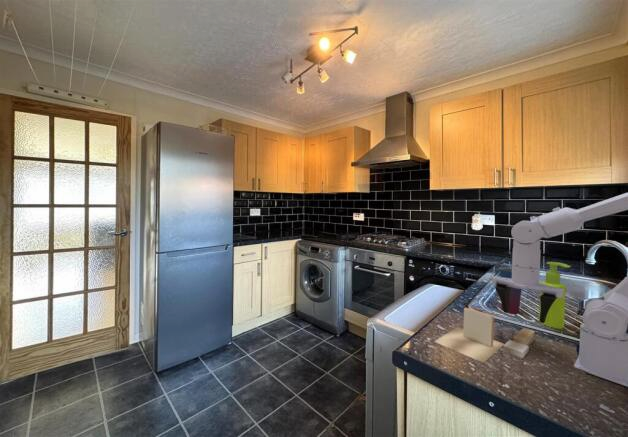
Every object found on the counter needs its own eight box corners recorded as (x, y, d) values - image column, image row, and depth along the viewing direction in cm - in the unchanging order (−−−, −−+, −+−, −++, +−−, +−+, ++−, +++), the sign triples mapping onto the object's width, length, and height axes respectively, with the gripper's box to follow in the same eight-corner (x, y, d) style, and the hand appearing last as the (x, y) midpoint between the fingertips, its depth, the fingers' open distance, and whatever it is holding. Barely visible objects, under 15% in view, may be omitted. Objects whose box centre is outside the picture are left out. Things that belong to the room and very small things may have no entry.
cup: (527, 314, 89) (528, 272, 88) (507, 314, 89) (508, 271, 88) (512, 307, 96) (513, 267, 95) (494, 307, 96) (495, 267, 95)
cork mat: (504, 345, 69) (504, 343, 69) (483, 364, 60) (483, 362, 60) (457, 328, 78) (457, 327, 78) (433, 343, 70) (433, 341, 70)
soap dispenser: (559, 331, 77) (562, 265, 76) (534, 321, 83) (536, 260, 83) (572, 329, 78) (575, 264, 78) (547, 319, 85) (549, 259, 84)
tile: (493, 345, 68) (494, 315, 67) (491, 347, 67) (492, 317, 67) (464, 335, 73) (465, 307, 73) (462, 336, 73) (463, 308, 72)
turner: (538, 342, 70) (538, 332, 70) (522, 360, 62) (522, 348, 62) (519, 336, 74) (520, 326, 73) (502, 353, 65) (503, 341, 65)
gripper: (488, 263, 71) (486, 311, 72) (559, 274, 60) (557, 331, 60) (497, 260, 75) (496, 305, 76) (566, 269, 64) (563, 323, 64)
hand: (523, 316), depth 68 cm, fingers open, 7 cm apart
